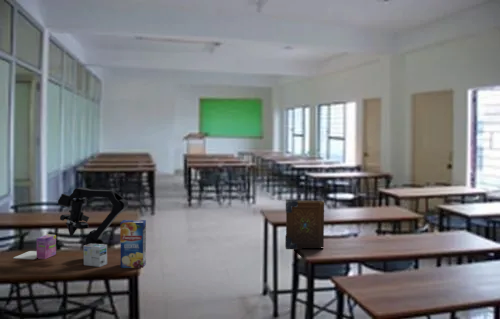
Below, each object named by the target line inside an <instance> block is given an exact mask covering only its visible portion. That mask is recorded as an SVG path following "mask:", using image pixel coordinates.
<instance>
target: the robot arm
mask: <svg viewBox="0 0 500 319" xmlns="http://www.w3.org/2000/svg"><path fill="white" fill-rule="evenodd" d="M89 197H90V198H108V200H109V201H110V204H112V207H111V211H110V212H109V214H108V215H107V216H106V217H105V218H104V219H103V221H102V222H101V223H100V224H99V226H98V227H97V228H96V229H93V230H90V231H89V233H88V235H85V237H86V238H85V243H86V244H85V245H87V244H90V243H92V244H103V245H105V242H104V240H102V238H103V235H104V233H105V232H106V230H107V229H108V228H109V227H110V226H111V224H112V223H113V222H114V220H115V219H116V218H117V217H118V215H120V214H122V213H123V212H124V211H125V210H126V209H128V207H129V202H128V200H127V199H124V197H122V196H121V195H120V194H119V193H117V192H116V190H114V189H110V190H108V189H90V188H87V187H82V186H81V187H78V188H74V189H73V191H72V193H71V194H65V193H61V195H60V197H59V199H58V200H57V204H58V206H60V207H65V208H68V209H69V208H70V210H68V213H69V214H66V213H65V214H61V215H60V216H59V220H60V221H63V222H64V221H65V220H66V222H65V225H66V227H67V230H68V233H69V236H70V237H73V236H74V234H75V233H76V232H77V229H80V230H81V229H82V230H83V229H88V228H89V224H88V221H89V219H90V216H87V215H85V214H84V212H83V211H82V210H83V206H84V205H85V204H88V202H87V200H86V199H85V198H89Z"/></svg>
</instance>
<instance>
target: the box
mask: <svg viewBox="0 0 500 319" xmlns="http://www.w3.org/2000/svg"><path fill="white" fill-rule="evenodd" d="M36 251H37V258H38V259H37V258H36V259H37V260H39V259H40V260H46V259H48V258H52V257H54V256H55V255H57V235H56V234H52V233H51V234H50V233H47V234H44V235H42V236H38V237H37V238H36Z"/></svg>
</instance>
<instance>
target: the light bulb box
mask: <svg viewBox="0 0 500 319" xmlns="http://www.w3.org/2000/svg"><path fill="white" fill-rule="evenodd" d="M82 247H83V265H84V266H88V267H89V266H90V267H99V268H101V267H103V266H105V265H108V244H104V245H103V244H92V243H90V244H85V245H83V246H82Z"/></svg>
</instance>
